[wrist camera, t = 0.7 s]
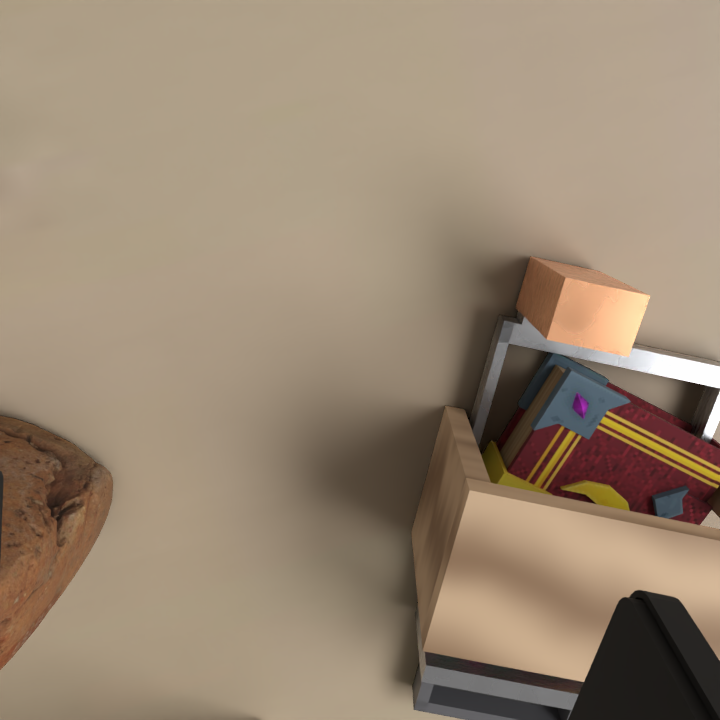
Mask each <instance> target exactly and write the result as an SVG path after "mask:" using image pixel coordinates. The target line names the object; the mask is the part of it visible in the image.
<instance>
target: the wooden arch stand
mask: <svg viewBox="0 0 720 720" xmlns="http://www.w3.org/2000/svg"><path fill="white" fill-rule="evenodd" d="M707 502H708V503H709V504H710V505H711V506H712V507H713V508H712V510H713V511H714V512H715V513H716V514H717V515H718V516H719V517H720V485H719V487H718V488H717V489H716V491H715V492H714V493H713V495H712V496H711V497H710V499H709V500H708V501H707ZM411 535H412V546H413V556H414V566H415V577H416V587H417V597H418V608H419V618H420V629H421V639H422V649H423V651H425V652H430V653H435V654H440V655H446V656H451V657H456V658H461V659H466V660H472V661H477V662H482V663H487V664H493V665H498V666H503V667H508V668H513V669H519V670H524V671H529V672H534V673H540V674H545V675H550V676H555V677H560V678H566V679H571V680H576V681H581V682H584V681H585V679H586V676H587V674H588V671H589V669H590V667H591V664H592V662H593V660H594V657H595V655H596V653H597V650H598V648H599V646H600V643H601V641H602V639H603V636H604V634H605V632H606V629H607V627H608V624H609V622H610V620H611V617H612V615H613V613H614V610H615V608H616V606H617V604H618V602H619V600H620V599H621V598H623V597H628V598H629V597H630V595H631V594H632V593H633V592H634V591H636V590H643V591H648V592H653V593H658V594H663V595H668V596H672V597H675V598H678V599H679V600H680V601H681V603H682V604H683V605H684V607H685V608H686V610H687V611H688V613H689V614H690V616H691V617H692V619H693V621H694V622H695V624H696V625H697V627H698V628H699V630H700V631H701V633H702V634H703V636H704V637H705V639H706V640H707V642H708V644H709V645H710V647H711V648H712V650H713V651H714V653H715V654H716V656H717V657H718V659H719V660H720V529H716V528H711V527H706V526H701V525H696V524H691V523H686V522H681V521H677V520H672V519H667V518H662V517H657V516H652V515H647V514H642V513H637V512H632V511H627V510H622V509H617V508H612V507H608V506H603V505H598V504H593V503H588V502H583V501H578V500H573V499H568V498H563V497H558V496H553V495H548V494H543V493H539V492H534V491H529V490H524V489H519V488H514V487H509V486H504V485H499V484H494V483H491V481H490V479H489V476H488V473H487V470H486V468H485V465H484V462H483V459H482V456H481V454H480V451H479V448H478V445H477V443H476V440H475V437H474V434H473V431H472V429H471V426H470V423H469V420H468V418H467V415H466V412H465V409H460V408H455V407H450V406H446V405H445V409H444V412H443V416H442V420H441V423H440V427H439V431H438V435H437V438H436V442H435V446H434V450H433V453H432V457H431V461H430V464H429V468H428V472H427V476H426V479H425V483H424V487H423V491H422V494H421V498H420V502H419V505H418V509H417V513H416V517H415V520H414V524H413V528H412V532H411Z"/></svg>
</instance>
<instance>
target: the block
mask: <svg viewBox="0 0 720 720" xmlns="http://www.w3.org/2000/svg"><path fill="white" fill-rule="evenodd" d="M0 471H1V472H2V474H3V480H4V482H3V508H2V533H1V558H0V670H1V669H2V668H3V667H4V666H5V664H6V663H7V662H8V661H9V660H10V659H11V658H12V657H13V656H14V655H15V653H16V652H17V651H18V650H19V649H20V647H21V646H22V645H23V644H24V643H25V641H26V640H27V639H28V638H29V637H30V635H31V634H32V633H33V632H34V631H35V629H36V628H37V627H38V625H39V624H40V623H41V621H42V620H43V618H44V617H45V615H46V614H47V613H48V611H49V610H50V609H51V608H52V606H53V605H54V604H55V602H56V601H57V600H58V598H59V597H60V596H61V595H62V593H63V592H64V590H65V589H66V587H67V586H68V584H69V583H70V582H71V580H72V579H73V577H74V576H75V574H76V573H77V571H78V570H79V568H80V567H81V565H82V563H83V562H84V560H85V559H86V557H87V555H88V554H89V552H90V550H91V548H92V547H93V545H94V543H95V541H96V539H97V538H98V536H99V534H100V531H101V529H102V527H103V525H104V523H105V520H106V518H107V515H108V512H109V509H110V505H111V501H112V491H113V480H112V475H111V473H110V472H109V471H108V470H107V469H106V468H105V467H103V466H102V465H100V464H98V463H96V462H94V460H93V459H92V458H91V457H89V456H88V455H87V454H85V453H84V452H83V451H81V450H80V449H79V448H78V447H77V446H76V445H74V444H72V443H70V442H69V441H67V440H65V439H63V438H60V437H58V436H56V435H54V434H52V433H50V432H47V431H45V430H43V429H41V428H39V427H37V426H35V425H33V424H30V423H27V422H24V421H21V420H18V419H15V418H9V417H4V416H0Z"/></svg>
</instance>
